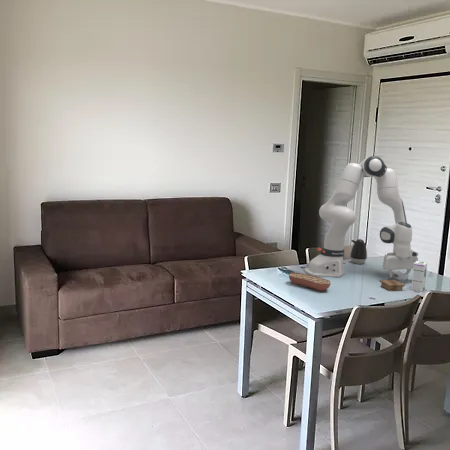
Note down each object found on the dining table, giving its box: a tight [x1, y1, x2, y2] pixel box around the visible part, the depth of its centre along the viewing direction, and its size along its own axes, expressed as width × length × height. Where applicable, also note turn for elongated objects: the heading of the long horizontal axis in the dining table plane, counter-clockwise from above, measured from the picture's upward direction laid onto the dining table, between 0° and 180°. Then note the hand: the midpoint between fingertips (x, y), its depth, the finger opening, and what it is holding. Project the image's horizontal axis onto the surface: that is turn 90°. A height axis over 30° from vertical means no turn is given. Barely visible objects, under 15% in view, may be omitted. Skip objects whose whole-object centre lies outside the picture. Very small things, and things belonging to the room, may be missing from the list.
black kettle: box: [349, 238, 368, 265], centre depth 311 cm, size 10×10×15 cm
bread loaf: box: [288, 272, 332, 292], centre depth 255 cm, size 23×10×5 cm, turn 50°
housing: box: [389, 270, 407, 284], centre depth 274 cm, size 5×7×5 cm
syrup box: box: [410, 260, 428, 292], centre depth 260 cm, size 6×6×14 cm
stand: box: [379, 279, 406, 292], centre depth 261 cm, size 9×9×3 cm
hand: (398, 276), depth 275 cm, fingers open, 8 cm apart
